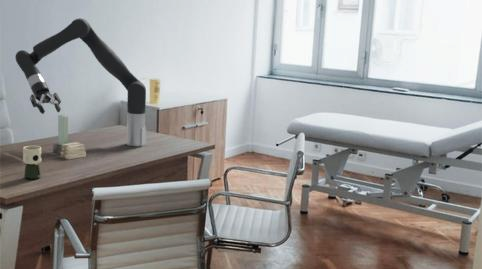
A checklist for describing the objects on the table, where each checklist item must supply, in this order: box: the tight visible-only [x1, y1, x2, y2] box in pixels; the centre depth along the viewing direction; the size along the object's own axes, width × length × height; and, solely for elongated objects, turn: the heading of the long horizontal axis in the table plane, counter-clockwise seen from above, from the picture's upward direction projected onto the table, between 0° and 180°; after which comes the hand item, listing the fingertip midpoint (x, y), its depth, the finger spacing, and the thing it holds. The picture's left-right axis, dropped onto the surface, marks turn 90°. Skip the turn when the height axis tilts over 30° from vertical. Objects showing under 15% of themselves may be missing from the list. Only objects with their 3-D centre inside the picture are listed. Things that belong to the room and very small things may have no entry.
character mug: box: [22, 145, 42, 180], centre depth 241 cm, size 11×7×13 cm, turn 162°
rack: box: [45, 141, 88, 161], centre depth 278 cm, size 18×12×7 cm, turn 50°
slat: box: [57, 114, 69, 146], centre depth 279 cm, size 5×2×18 cm, turn 50°
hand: (51, 112), depth 283 cm, fingers open, 8 cm apart
